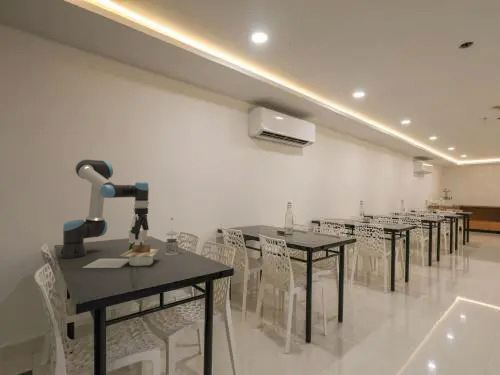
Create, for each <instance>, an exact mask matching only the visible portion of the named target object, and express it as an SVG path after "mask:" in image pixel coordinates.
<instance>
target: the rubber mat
mask: <svg viewBox="0 0 500 375" xmlns="http://www.w3.org/2000/svg"><path fill="white" fill-rule="evenodd" d="M127 263H129V258H98V259H96V260H94V261H93V262H90V263H88V264H86V265H85V266H82V267H81V268H82V269H83V268H84V269H87V268H88V269H90V268H91V269H92V268H94V269H95V268H97V269H100V268H101V269H103V268H105V269H108V268H109V269H110V268H111V269H112V268H113V269H115V268H118V269H119V268H120V269H121V267H124V266H125V265H126V264H127Z"/></svg>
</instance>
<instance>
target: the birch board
mask: <svg viewBox="0 0 500 375" xmlns="http://www.w3.org/2000/svg"><path fill="white" fill-rule="evenodd" d="M160 251H161V248H151V244H149V243H148V244H146V243H144V244H140V245H135V244H133V245H132V249H131V250H129V249H128V250H127V251H126V252H124V253H122V254H120V256H119V257H120V258H129V257H153V258H154V256H156V255H157V254H158V253H159V252H160Z"/></svg>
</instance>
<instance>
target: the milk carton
mask: <svg viewBox="0 0 500 375" xmlns="http://www.w3.org/2000/svg"><path fill="white" fill-rule="evenodd" d="M127 230H128V231H127V232H128V251H129V250H131V249H132V245H133V244H135V234H133V231H134V226H131V229H127ZM142 230H143V228H140V232H139V234H140V244H145V241H142Z"/></svg>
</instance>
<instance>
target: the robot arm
mask: <svg viewBox="0 0 500 375" xmlns="http://www.w3.org/2000/svg"><path fill="white" fill-rule="evenodd" d="M74 170H75V172H76V175H77V176H78V177H79V178H80V179H83V180H86V182H88V183H90V184H91V188H90V189H91V190H90V199H89V208H88V216H86V217H85V220H84V219H75V220H69V221H66V222H64V224H63V228H62V233H63V234H62V235H63V236H62V238H63V240H62V242H63V245H62V248H61V249H60V253H59V258H61V259H74V258H75V259H76V258H83V257H85V256H86V255H87V254H88V253H87V249H86V246H85V243H84V242H85V241H84V239H91V238H99V237H104V235H105V234H106V233H107V231H108V222H107V220H105V217H103V212H104V205H105V204H104V202H105V199H112V198H115V199H116V198H117V199H118V198H134V207H135V208H134V214H135V215H137V216H135V218H134V219H135V221H134V226H133V227H134V231H133V234H135V245H140V234H139V232H140V229H143V230H142V241H144V242H145V241H148V231H149V229H150V227H149V222H148V214H149V208H148V207H149V204H150V202H149V191H150V190H149V183H148V182H146V181H145V182H144V181H136V182H135V184H134V185H133V184H115V183H113V182H111V181H110V180H109V179H110V178H112V177H113V174H114V168H113V166H112V164H111V162H109V161H105V160H99V159H98V160H97V159H83V160H81V161H79V162H78V163H77V164H76V166H75V169H74Z"/></svg>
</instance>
